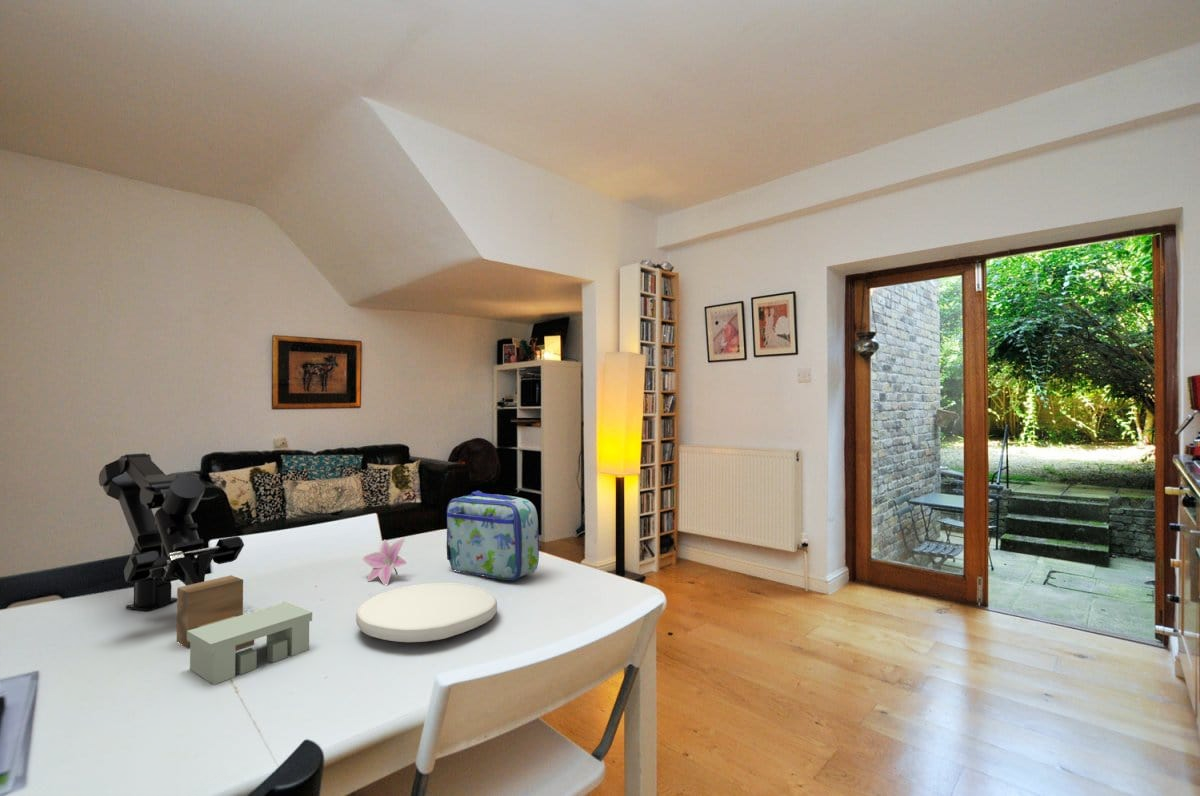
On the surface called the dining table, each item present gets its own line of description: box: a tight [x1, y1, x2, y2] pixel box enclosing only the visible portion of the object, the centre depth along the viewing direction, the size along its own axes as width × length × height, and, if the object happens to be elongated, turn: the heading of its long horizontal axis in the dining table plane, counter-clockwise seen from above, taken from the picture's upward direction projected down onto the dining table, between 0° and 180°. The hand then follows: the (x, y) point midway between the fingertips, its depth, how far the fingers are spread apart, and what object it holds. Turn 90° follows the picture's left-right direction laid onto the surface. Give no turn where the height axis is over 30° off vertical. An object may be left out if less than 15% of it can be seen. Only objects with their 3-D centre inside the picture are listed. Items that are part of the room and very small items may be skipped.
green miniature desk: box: [187, 601, 313, 685], centre depth 95 cm, size 9×16×6 cm, turn 146°
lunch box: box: [446, 490, 540, 582], centre depth 143 cm, size 26×11×21 cm, turn 58°
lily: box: [362, 537, 408, 586], centre depth 139 cm, size 12×12×10 cm
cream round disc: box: [355, 582, 498, 643], centre depth 111 cm, size 28×6×27 cm
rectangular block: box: [176, 574, 255, 651], centre depth 102 cm, size 13×9×10 cm
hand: (199, 593), depth 107 cm, fingers closed
